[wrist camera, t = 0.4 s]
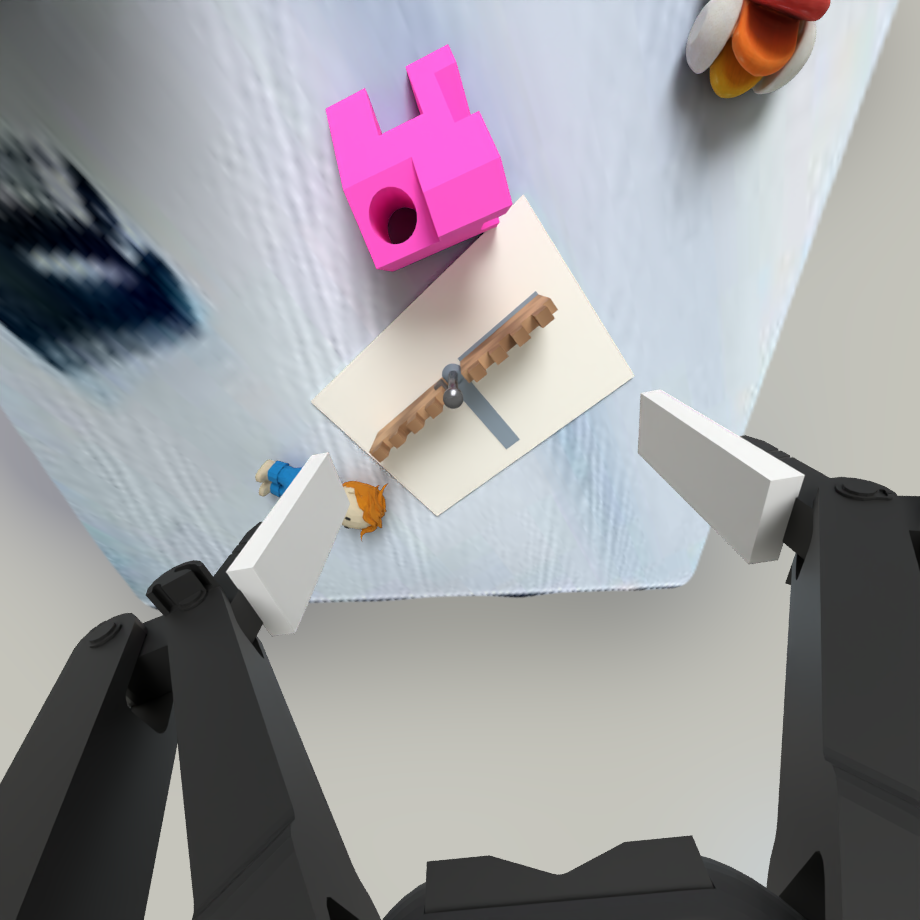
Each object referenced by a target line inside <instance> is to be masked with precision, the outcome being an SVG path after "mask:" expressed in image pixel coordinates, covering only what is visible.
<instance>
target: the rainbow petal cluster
mask: <svg viewBox="0 0 920 920" xmlns="http://www.w3.org/2000/svg"><path fill="white" fill-rule="evenodd" d="M829 6H830V0H710V1H709V2H708V3H707V4H706V5H705V6H704V8H703V9H702V10H701V12H700V13H699V15H698V17H697V18H696V20H695V22H694V24H693V26H692V28H691V31H690V33H689V36H688V40H687V45H686V58H687V62H688V65H689V67H690V68H691V69H692V71H693V72H695V73H696V74H700V73H702V72H704V71H705V70H706V69H707V68H708V67H709V66H710V83H711V86H712V88H713V90H714V92H715V93H716V94H717V95H718V96H719V97H721V98H733V97H736V96H739V95H741V94H743V93H745V92H746V91H748V90H749V89H751V88H752V89H753V91H754V92H755V93H756V94H767V93H771V92H773V91H776V90H778V89H780V88H781V87H783V86H784V85H786V84H787V83H788V82H789V81H791V80H792V79H793V78H794V77H795V76H796V75H797V74H798V73H799V71H800V70H801V69H802V67H803V66H804V65H805V63H806V61H807V60H808V58H809V56H810V54H811V52H812V49H813V47H814V43H815V39H816V25H815V22H814V21H816V20H818V19H820V18H821V17H822V16H823V15H824V14H825V13H826V11H827V10H828V8H829Z"/></svg>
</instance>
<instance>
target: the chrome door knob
mask: <svg viewBox="0 0 920 920" xmlns="http://www.w3.org/2000/svg"><path fill="white" fill-rule="evenodd" d="M443 402H444V404H445V405H446V406H447V407H448V408H451V409H456V408H458V407H460V406H461V405H462V403H463V393H462V391H461V390H460V389H458V374H457V372H456V371H454V370H452V371H450V372H449V374H448V389H447V390H446V391H445V392H444V394H443Z"/></svg>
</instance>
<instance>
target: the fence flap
mask: <svg viewBox="0 0 920 920" xmlns="http://www.w3.org/2000/svg"><path fill="white" fill-rule="evenodd" d="M447 389H448V383H447V382H446V381H445V379H444V378H443V377H442V378H441V379H439V380H438V381H437V382H436V383H435V384H434V385H432V386H431V387H430V388H429V389H428V390H427V391H425V392H424V393H423V394H422V395H421V396H420V397H418V398H417V399H416V400H415V401H414V402H413V403H411V404H410V405H409V406H408V407H407V408H406V409H405V410H403V411H402V412H401V413H400V414H399V415H398V416H396V417H395V418H394V419H393V420H392V421H391V422H389V423H388V424H387V425H386V426H385V427H384V428H382V429H381V430H380V431H379V432H378V433H377V435H376V437H375V440H374V442H373V444H372V446H371V449H370V451H369V453H370V454H371V455H372V456H373V457H374V458H375V459H376V460H377V461H378V462H382V461H383V460H384V459H385V458H387V457H388V456H389V453H390V450H391V448H392V447H396V448H397V449H398V448H399V447H400V446H401V445H402V444H404V443H405V442H406V439H407V435H408V434H409V433H411V432H413V433H414V434H416V433H417V432H418V431H419V430H421V429H422V428H423V427H424V423H425V420H426V419H427V418H429V417H430V416H431V417H432V418H433V419H434V418H435V417H437V416H438V415H439V414H440V413H441V412H443V405H444V402H443V394H444V392H445V391H446V390H447Z"/></svg>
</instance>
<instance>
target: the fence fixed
mask: <svg viewBox="0 0 920 920" xmlns="http://www.w3.org/2000/svg"><path fill="white" fill-rule="evenodd" d="M557 310H558V309H557V307H556V306H555V304H554V303H553V301H552V300H551V298H548V297H545V296H542V295H539V294H538V295H537V296H536V297H535V298H533V299H532V300H531V301H530V302H529V303H528V304H526V305H525V306H524V307H523V308H522V309H521V310H519V311H518V312H517V313H516V314H515V315H514V316H512V317H511V318H510V319H509V320H508V321H507V322H505V323H504V324H503V325H502V326H501V327H500V328H498V329H497V330H496V331H495V332H494V333H493V334H492V335H490V336H489V337H488V338H487V339H486V340H485V341H483V342H482V343H481V344H480V345H479V346H478V347H476V348H475V349H474V350H473V351H472V352H471V353H469V354H468V355H467V356H466V357H465V358H464V359H462V360H461V361H460V367H461V374H462V375H463V377H464V378H465V379H466V380H467V381H468V382H469V383H470V382H471V381H473V380H475V381H476V382H478V381H479V380H481V379H482V378H483V377H484V376H486V375H487V372H486V369H487V368H488V367H490V366H491V365H492V364H493V363H494V362H496V364H497V365H499V364H500V363H501V362H503V361H504V360H505V359H506V358H507V357H509V356H508V354H507V353H506V352H508V351H509V350H510V349H511V348H512V347H514V346H515V345H516V344H518V346H519V347H521V346H522V345H523V344H525V343H526V342H527V341H528V340H529V339H531V337H530V335H529V333H531V332H532V331H533V330H534V329H535V328H537V327H538V326H540V327H542V328H544V327H545V326H546V325H548V324H549V323H550V322H551V321H553V320H554V319H555V318H554V316H553V315H552V314H554V313H555V312H556V311H557Z"/></svg>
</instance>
